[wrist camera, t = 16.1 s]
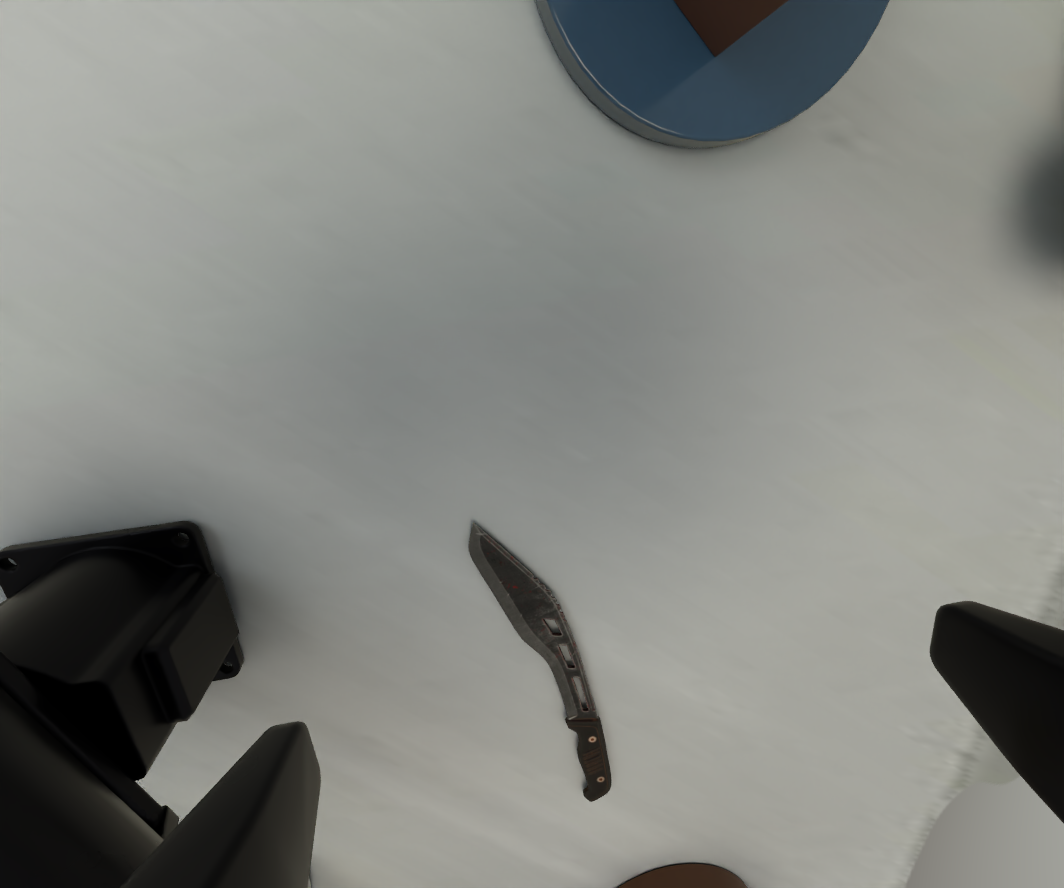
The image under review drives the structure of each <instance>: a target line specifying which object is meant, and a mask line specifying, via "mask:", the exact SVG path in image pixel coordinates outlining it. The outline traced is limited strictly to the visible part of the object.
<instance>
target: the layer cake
mask: <svg viewBox="0 0 1064 888" xmlns="http://www.w3.org/2000/svg"><path fill="white" fill-rule="evenodd" d="M618 888H747V886H746V885H745V884H744V882H743V881H742V880H741V879H739V878H738V877H737V876H736V875H734V874H733V873H731V872H729V871H727V870H725V869H722V868H719V867H716V866H712V865H705V864H680V865H673V866H668V867H663V868H660V869H656V870H653V871H650V872H647V873H645V874H642V875H640V876H638V877H636V878H633V879H631V880H630V881H628V882H626V883H624V884H623V885H621V886H619V887H618Z"/></svg>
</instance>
